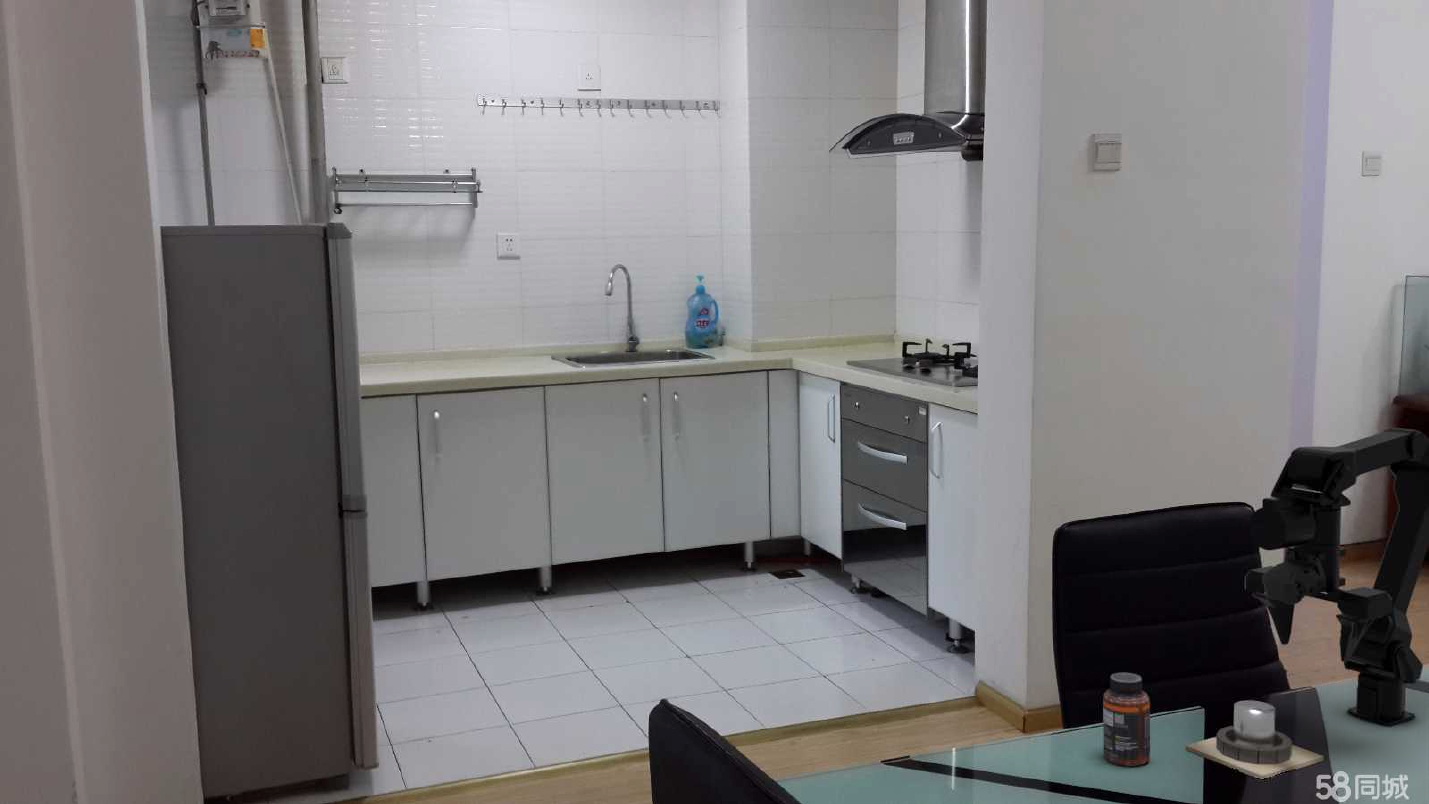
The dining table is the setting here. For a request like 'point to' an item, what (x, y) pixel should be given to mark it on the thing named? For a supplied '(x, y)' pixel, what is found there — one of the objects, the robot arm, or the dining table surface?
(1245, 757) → the ring seat
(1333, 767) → the dining table surface
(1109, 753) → the supplement bottle
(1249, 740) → the cylinder
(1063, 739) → the dining table surface
